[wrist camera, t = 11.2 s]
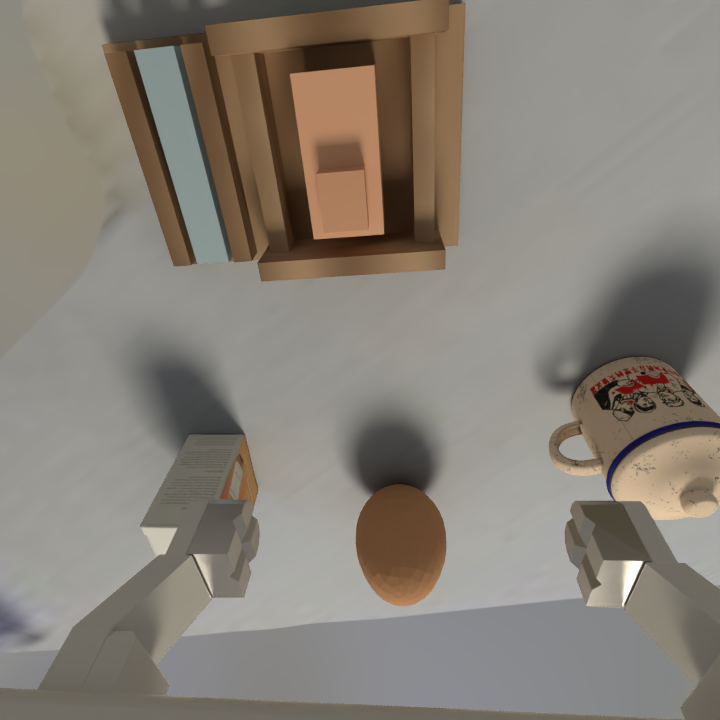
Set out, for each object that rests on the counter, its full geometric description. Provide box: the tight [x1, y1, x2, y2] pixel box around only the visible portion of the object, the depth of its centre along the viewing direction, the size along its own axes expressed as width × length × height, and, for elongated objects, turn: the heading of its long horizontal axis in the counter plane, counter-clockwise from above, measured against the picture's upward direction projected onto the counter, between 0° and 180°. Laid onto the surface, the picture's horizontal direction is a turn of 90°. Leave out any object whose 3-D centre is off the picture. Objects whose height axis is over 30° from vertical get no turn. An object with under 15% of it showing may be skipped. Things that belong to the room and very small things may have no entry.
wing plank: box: [134, 46, 233, 264], centre depth 28 cm, size 2×12×2 cm, turn 5°
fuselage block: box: [290, 65, 384, 239], centre depth 25 cm, size 4×8×6 cm, turn 5°
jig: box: [102, 0, 465, 281], centre depth 27 cm, size 20×13×5 cm, turn 95°
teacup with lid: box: [549, 357, 720, 520], centre depth 34 cm, size 12×9×12 cm
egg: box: [356, 484, 446, 606], centre depth 42 cm, size 8×8×11 cm
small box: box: [140, 434, 258, 557], centre depth 41 cm, size 8×6×10 cm
